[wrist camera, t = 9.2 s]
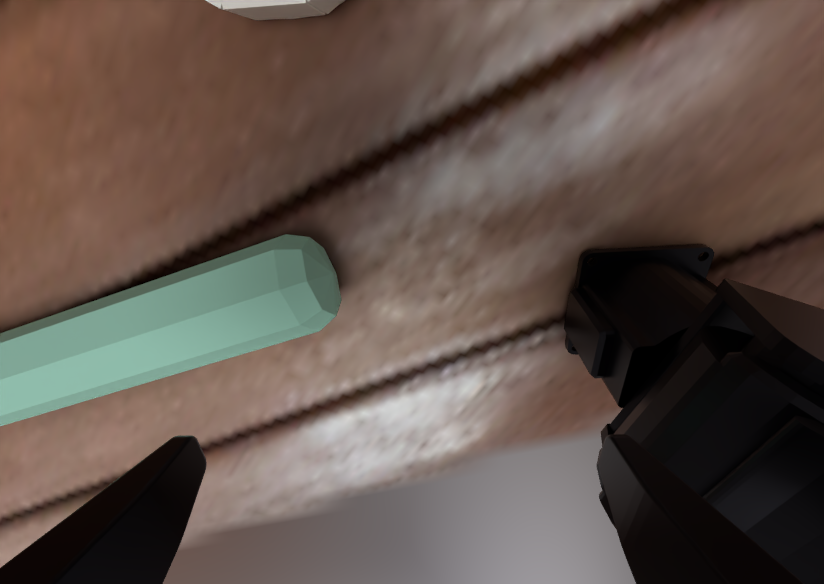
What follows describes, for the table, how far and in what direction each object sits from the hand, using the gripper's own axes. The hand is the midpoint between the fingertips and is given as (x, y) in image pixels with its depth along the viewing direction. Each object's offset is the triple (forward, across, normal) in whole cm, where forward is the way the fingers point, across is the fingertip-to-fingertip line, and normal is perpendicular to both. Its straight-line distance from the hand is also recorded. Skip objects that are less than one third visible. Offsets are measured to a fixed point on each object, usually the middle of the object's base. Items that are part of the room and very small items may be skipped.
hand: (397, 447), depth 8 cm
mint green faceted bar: (+13, +16, +5) cm, 21 cm away
